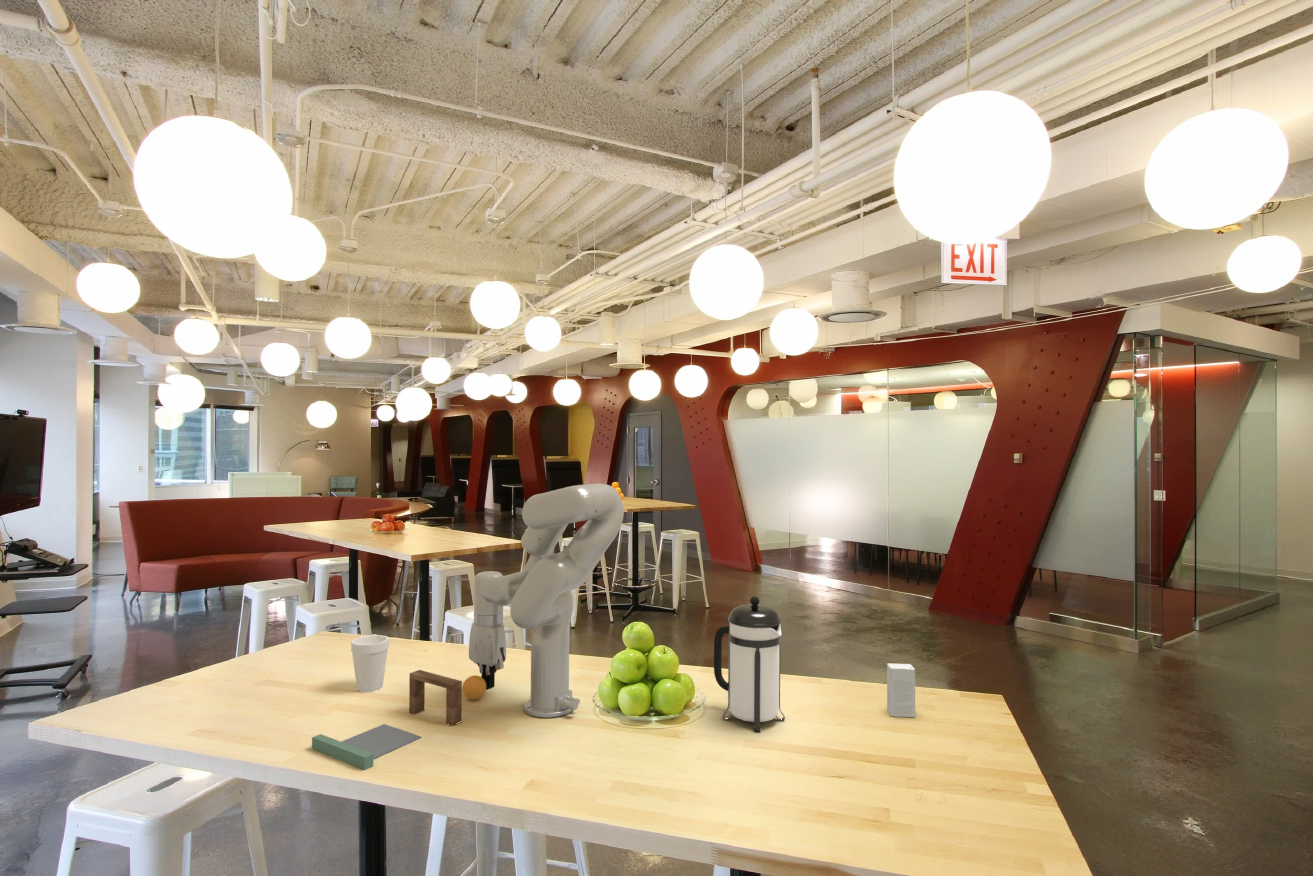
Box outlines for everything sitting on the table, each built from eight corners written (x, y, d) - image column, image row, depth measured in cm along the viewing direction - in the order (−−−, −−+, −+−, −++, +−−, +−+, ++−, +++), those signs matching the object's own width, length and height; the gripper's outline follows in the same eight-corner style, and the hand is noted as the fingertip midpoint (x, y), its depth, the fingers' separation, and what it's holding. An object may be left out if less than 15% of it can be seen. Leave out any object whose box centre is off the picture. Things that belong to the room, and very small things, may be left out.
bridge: (419, 708, 173) (419, 669, 173) (461, 721, 166) (462, 681, 166) (409, 712, 171) (409, 673, 171) (451, 726, 163) (452, 684, 163)
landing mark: (421, 737, 157) (421, 736, 157) (371, 760, 145) (371, 759, 145) (384, 724, 163) (384, 724, 163) (333, 745, 152) (333, 744, 152)
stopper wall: (373, 766, 143) (373, 754, 143) (364, 770, 141) (364, 757, 141) (320, 745, 152) (320, 734, 152) (311, 748, 150) (312, 737, 150)
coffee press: (781, 707, 176) (782, 589, 176) (787, 734, 160) (788, 604, 160) (713, 704, 178) (714, 587, 178) (712, 730, 162) (713, 602, 162)
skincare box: (910, 711, 174) (911, 663, 174) (915, 718, 170) (915, 669, 170) (886, 710, 175) (886, 662, 175) (890, 716, 171) (890, 668, 171)
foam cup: (362, 697, 180) (363, 647, 180) (344, 689, 186) (344, 640, 186) (395, 687, 188) (396, 639, 188) (376, 679, 194) (377, 633, 194)
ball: (494, 681, 182) (478, 672, 178) (485, 704, 178) (469, 696, 175) (478, 679, 185) (463, 671, 181) (469, 702, 182) (454, 694, 178)
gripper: (458, 617, 185) (457, 686, 185) (497, 626, 176) (496, 698, 176) (480, 612, 191) (479, 678, 191) (518, 620, 182) (518, 690, 182)
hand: (487, 688), depth 184 cm, fingers closed
